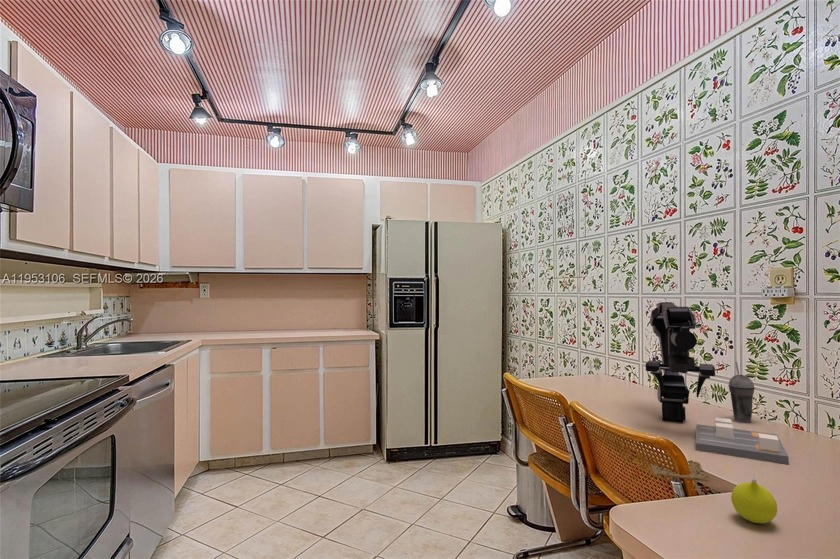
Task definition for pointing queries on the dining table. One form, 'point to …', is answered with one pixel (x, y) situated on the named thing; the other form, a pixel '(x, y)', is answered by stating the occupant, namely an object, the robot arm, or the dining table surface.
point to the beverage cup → (741, 397)
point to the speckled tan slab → (695, 474)
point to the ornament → (754, 502)
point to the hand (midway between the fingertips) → (680, 395)
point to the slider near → (768, 442)
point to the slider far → (723, 421)
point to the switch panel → (737, 444)
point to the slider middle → (724, 430)
